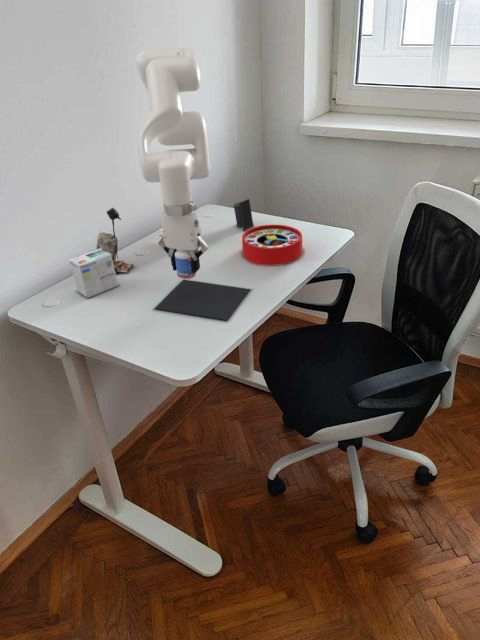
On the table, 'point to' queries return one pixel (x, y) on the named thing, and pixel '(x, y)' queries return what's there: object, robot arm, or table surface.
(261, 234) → the toy clock
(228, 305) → the desk mat
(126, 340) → the table surface
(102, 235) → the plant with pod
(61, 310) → the table surface
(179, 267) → the pill bottle
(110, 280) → the light bulb box
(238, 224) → the speaker
